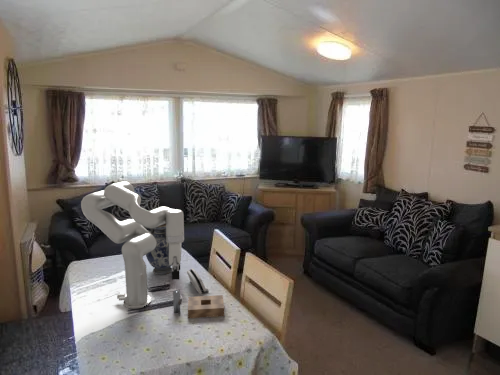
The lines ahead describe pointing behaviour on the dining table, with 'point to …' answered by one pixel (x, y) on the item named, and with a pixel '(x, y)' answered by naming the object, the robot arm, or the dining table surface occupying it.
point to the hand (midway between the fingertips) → (176, 274)
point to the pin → (176, 301)
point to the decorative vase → (160, 251)
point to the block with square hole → (205, 306)
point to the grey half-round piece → (196, 281)
